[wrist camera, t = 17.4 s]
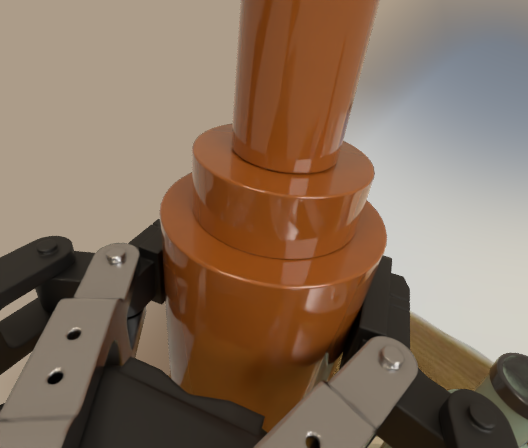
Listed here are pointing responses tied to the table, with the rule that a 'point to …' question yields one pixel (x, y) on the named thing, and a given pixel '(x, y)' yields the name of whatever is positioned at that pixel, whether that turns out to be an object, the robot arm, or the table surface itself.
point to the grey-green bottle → (507, 392)
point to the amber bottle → (274, 215)
